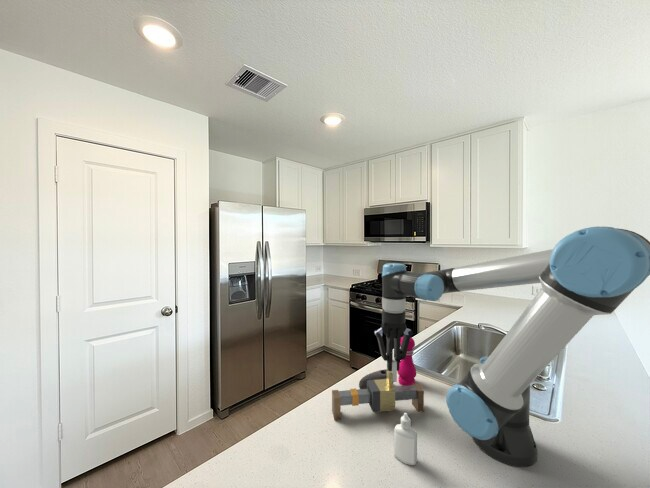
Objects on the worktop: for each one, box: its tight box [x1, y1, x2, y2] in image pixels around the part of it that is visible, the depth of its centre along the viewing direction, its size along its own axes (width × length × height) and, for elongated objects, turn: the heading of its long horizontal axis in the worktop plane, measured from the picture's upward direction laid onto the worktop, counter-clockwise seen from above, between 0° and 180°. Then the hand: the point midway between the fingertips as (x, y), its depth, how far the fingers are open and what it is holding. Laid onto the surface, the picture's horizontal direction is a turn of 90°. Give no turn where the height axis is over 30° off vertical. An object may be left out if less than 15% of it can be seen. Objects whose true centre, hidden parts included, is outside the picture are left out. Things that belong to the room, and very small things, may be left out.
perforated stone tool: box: [358, 368, 388, 389], centre depth 100 cm, size 15×5×7 cm, turn 105°
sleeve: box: [374, 371, 396, 412], centre depth 88 cm, size 5×7×11 cm
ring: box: [367, 380, 381, 413], centre depth 87 cm, size 2×7×7 cm, turn 7°
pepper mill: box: [397, 336, 417, 386], centre depth 105 cm, size 7×7×20 cm
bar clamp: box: [331, 383, 425, 421], centre depth 88 cm, size 30×4×7 cm, turn 98°
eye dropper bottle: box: [393, 412, 418, 466], centre depth 69 cm, size 4×6×12 cm
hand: (393, 379), depth 89 cm, fingers closed
